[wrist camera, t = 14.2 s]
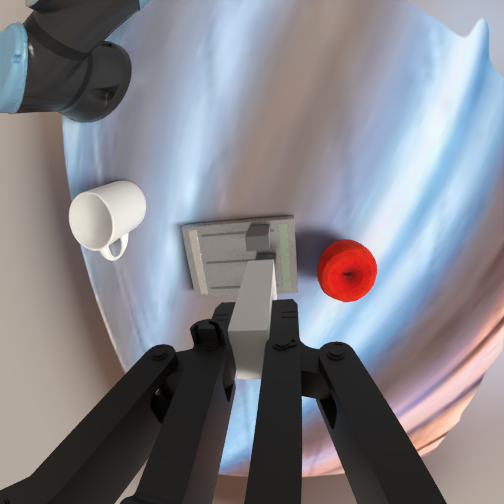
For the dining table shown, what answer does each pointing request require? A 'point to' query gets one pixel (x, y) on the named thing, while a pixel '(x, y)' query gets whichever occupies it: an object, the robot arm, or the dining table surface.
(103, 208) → the mug
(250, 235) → the block
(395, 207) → the dining table surface
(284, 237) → the panel
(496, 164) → the dining table surface
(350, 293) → the apple
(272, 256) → the block
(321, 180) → the dining table surface
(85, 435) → the robot arm
